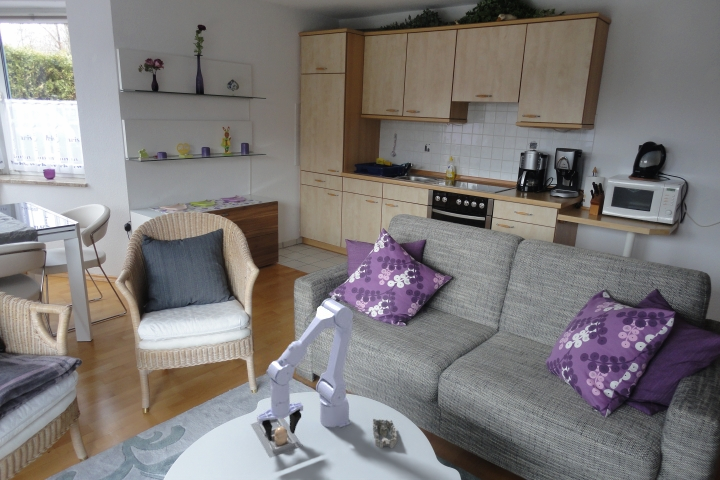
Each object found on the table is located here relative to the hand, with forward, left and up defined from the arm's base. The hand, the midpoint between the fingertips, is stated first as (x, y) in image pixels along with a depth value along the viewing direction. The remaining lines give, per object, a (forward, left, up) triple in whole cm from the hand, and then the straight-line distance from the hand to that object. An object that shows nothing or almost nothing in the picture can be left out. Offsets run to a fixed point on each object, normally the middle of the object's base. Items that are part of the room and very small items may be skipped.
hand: (280, 435), depth 151 cm
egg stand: (0, -4, -4) cm, 6 cm away
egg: (0, 0, -3) cm, 3 cm away
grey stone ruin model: (-31, +12, -4) cm, 34 cm away
